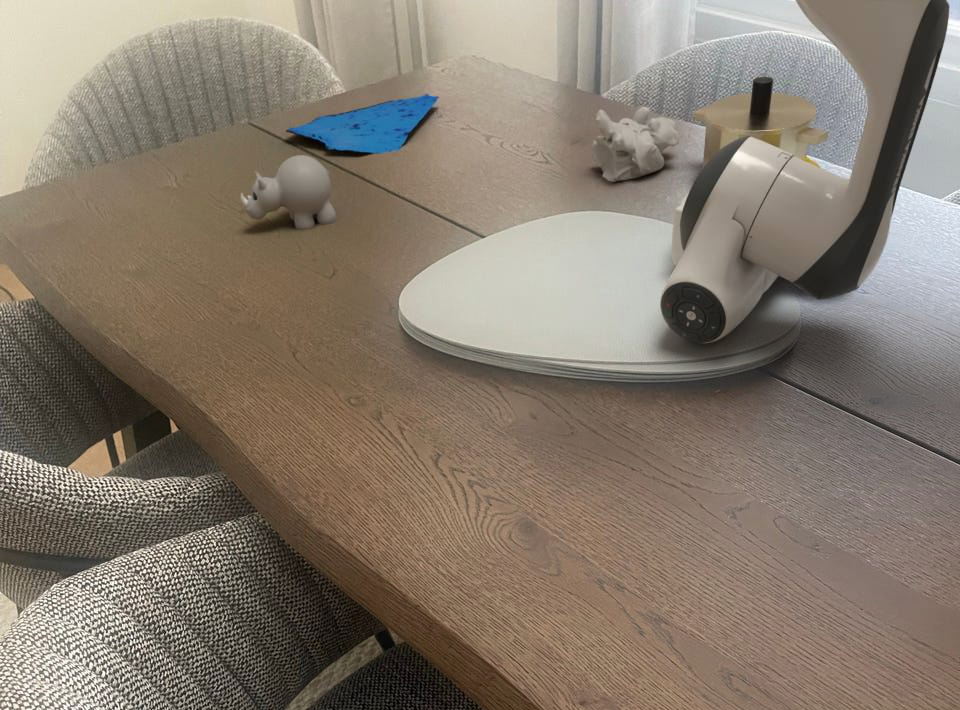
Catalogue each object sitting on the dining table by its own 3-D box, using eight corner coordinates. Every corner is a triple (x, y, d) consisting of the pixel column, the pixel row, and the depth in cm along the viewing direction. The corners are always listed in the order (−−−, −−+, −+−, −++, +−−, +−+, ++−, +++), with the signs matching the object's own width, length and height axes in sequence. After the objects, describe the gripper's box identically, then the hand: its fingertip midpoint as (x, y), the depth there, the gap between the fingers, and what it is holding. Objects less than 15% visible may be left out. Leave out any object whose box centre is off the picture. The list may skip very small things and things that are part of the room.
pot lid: (742, 95, 128) (746, 56, 125) (836, 112, 121) (843, 72, 118) (681, 127, 122) (684, 87, 118) (776, 148, 115) (782, 106, 111)
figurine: (589, 107, 124) (676, 72, 124) (584, 150, 134) (664, 117, 134) (614, 166, 124) (701, 130, 124) (606, 205, 134) (687, 172, 134)
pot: (720, 156, 135) (726, 89, 128) (838, 183, 125) (851, 111, 119) (666, 187, 129) (669, 118, 123) (785, 218, 119) (796, 145, 113)
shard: (302, 111, 163) (299, 98, 161) (442, 100, 161) (440, 87, 159) (275, 166, 146) (272, 153, 144) (431, 155, 144) (429, 141, 142)
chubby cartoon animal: (246, 226, 131) (229, 160, 125) (331, 208, 133) (319, 142, 127) (254, 247, 126) (236, 179, 120) (343, 227, 128) (330, 160, 122)
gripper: (851, 233, 97) (888, 181, 105) (662, 205, 105) (709, 159, 113) (840, 292, 102) (876, 238, 110) (659, 261, 110) (705, 213, 118)
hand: (790, 198), depth 111 cm, fingers open, 8 cm apart
